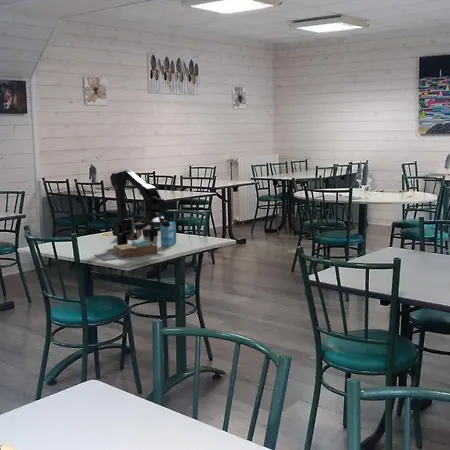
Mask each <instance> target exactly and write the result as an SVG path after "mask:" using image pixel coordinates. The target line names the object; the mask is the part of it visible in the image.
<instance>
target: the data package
mask: <svg viewBox="0 0 450 450" xmlns="http://www.w3.org/2000/svg"><path fill="white" fill-rule="evenodd" d="M169 223H170V226H169V227H164V226H161V227H159V228H160V229H159V230H160V245H161V247H164V248H165V247H167V248H170V247H172V246H173V245H175V244H176V243H177V227H176V226H177V225H176V222H175V221H169Z"/></svg>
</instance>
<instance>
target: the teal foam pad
mask: <svg viewBox="0 0 450 450" xmlns="http://www.w3.org/2000/svg"><path fill="white" fill-rule="evenodd" d="M131 243H132V244H133V245H135V246H138V247H142V246H150V242H149V241H147V240H144V238H142V239H140V238H139V239H138V240H131Z"/></svg>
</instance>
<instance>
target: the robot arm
mask: <svg viewBox="0 0 450 450" xmlns="http://www.w3.org/2000/svg"><path fill="white" fill-rule="evenodd" d="M109 177H110V178H109V179H110V183H111V186H112V187H113V189H114V193H115V202H116V203H115V204H116V210H117V218H116V220H115V227H114V228H113V230H112V231H111V233H112V236H113V237H116V245H123V244H129V240H127V235H128V234H131V229H134V231H136V230H142V229H143V230H145V231H146V233H147V235H148V237H149V239H150V241H151V242H153V239H154V236H155V233H156V231H157V230H158V231H159V230H160V227H161V226H164V227H169V226H170V223H169V222H170V221H169V220H166V219H165V218H164V216H159V217H158V213H163V214H164V213H166V212H167V211H168V205H169V204H167V201H165V198H162V197H161V195H160V193H159V192H158V189H157V188H156V187H155V186H154V185H152V184H150V183H146V181H144V180H143V179H142V178H140V177H139V176H138V175H137V174H136V173H135V172H134V171H133V170H132V169H126V170H124V171H120V172H112V173H111V175H110V176H109ZM128 182H129V183H130V184H132V185H133V186H134V187H135V188H136V189H138V192H139V194H140V195H141V197H142V200H141V201H140V203H143V204H144V205H143V206H144V213H143V216H145V221H144V223H145V224H142V223H138V222H136V223H135V222H134V223H133V224H132V220H131V218H129V216H128V210H127V208H128V207H127V201H126V192H125V189H126V187H127V184H128Z"/></svg>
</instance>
